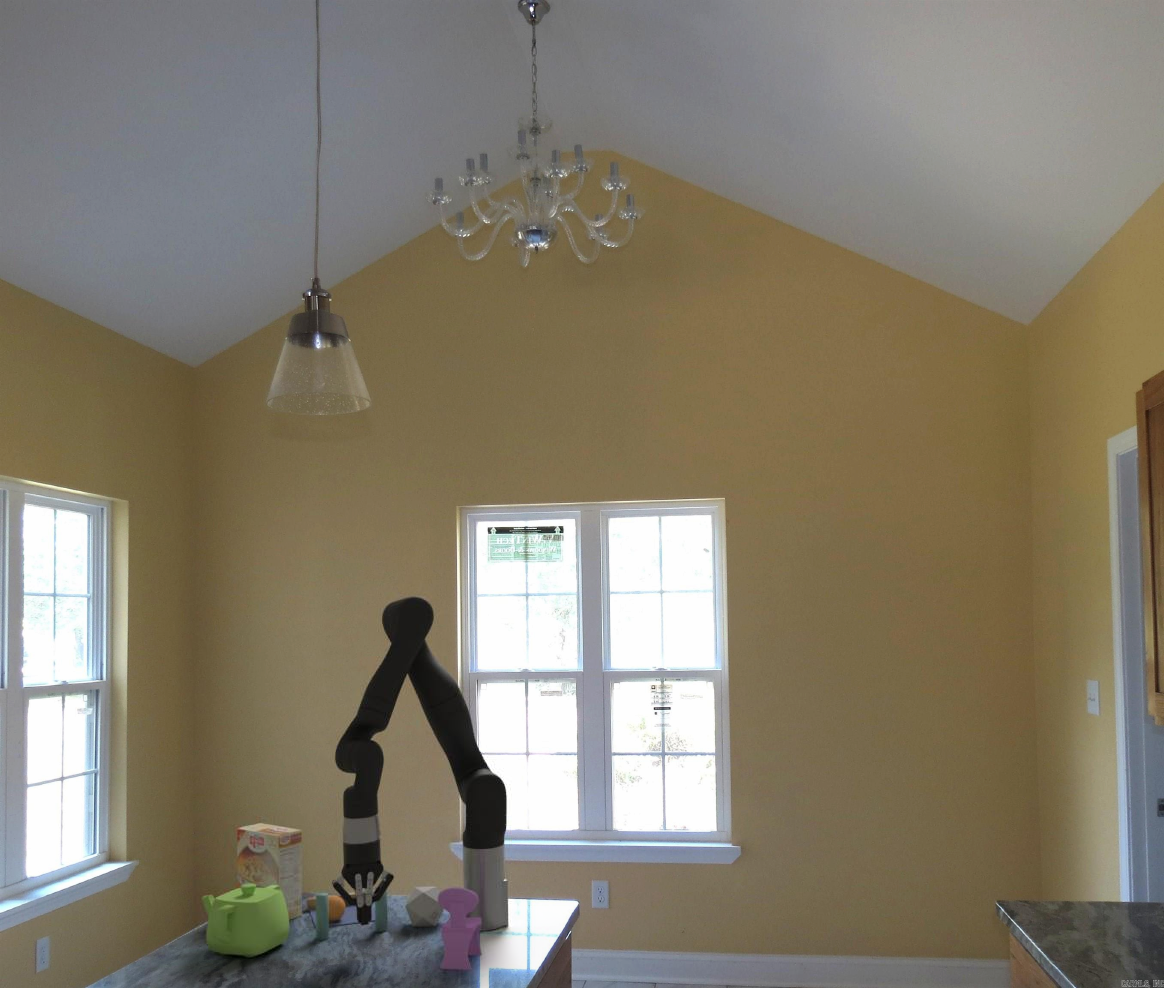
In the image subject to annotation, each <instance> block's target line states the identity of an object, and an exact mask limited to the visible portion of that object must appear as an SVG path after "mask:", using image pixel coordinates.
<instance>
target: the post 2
mask: <svg viewBox="0 0 1164 988" xmlns="http://www.w3.org/2000/svg"><path fill="white" fill-rule="evenodd" d="M377 887H378V886H376V887H374V891H375V890H376V888H377ZM374 904H375V905H374V906H375V907H374V910H375V921H374V924H375V925H374V927H375V928H374V929H375V930H374V931H375V932H376V933H377V932H378V933H381V932H382V933H383V932H387V931H388V888H387V889H386V891H385V893H384V894H383V896H382V897H381V899H380V900H379V901H376V902H374Z"/></svg>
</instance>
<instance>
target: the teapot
mask: <svg viewBox="0 0 1164 988" xmlns="http://www.w3.org/2000/svg"><path fill="white" fill-rule="evenodd" d="M201 900H202V904H203V906H204V909H205V911H206V913H207V917H208V919H207V920H208V921H207V925H206V926H207V927H206V935H205V940H206V944H207V946H208V949H209V950H210V952H214V953H218V954H219V953H220V954H221V955H233V956H235V955H236V956H244V957H245V958H254V957H256V956H258V955H261V954H264V953H266V952H268V951H270V950H272V949H273V948H274V949H275V948H276V947H278V946H280V945H281V944H283V943H284V942H286V941H287V938H288V935H289V933H290V920H289V917H288V911H287V906H286V903H285V899H284V896H283V893H282V891H280V886H279V885H270V886H268V887H266V888H256V884H252V883H251V884H244V885H242V886H241V888H237V887H236V888H235V889H233V890H230V891H228V892H225V893H223V894H221V895H219V896H216V897H214V896H213V894H210V895H209V894H208V895H204V896H202V897H201Z"/></svg>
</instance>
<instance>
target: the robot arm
mask: <svg viewBox="0 0 1164 988" xmlns="http://www.w3.org/2000/svg"><path fill="white" fill-rule="evenodd" d="M381 617H382V618H381V623H382V627H383V630H384V632H385V634H386V636H387V638H388V640H389V641H390V645H389V648H388V649H387V650H388V651H387V652H386V654H385V657H384V658H383V660H382V661H381V663H380V665H379V666H378V668H377V670H375V673H374V675H373V676H371V679H370V681H369V683H368V684H367V686H366V688H365V691H364V693H363V696H362V699H361V702H360V705H359V707H358V708H357V713H356V715H355V717H354V718H353V720H352V721H351V722H350V723H349V725H348V726H347V728H346V730H345V731H344V733H343V735H342V736H341V738H340V740H339V741H338V743H337V746H336V748H335V752H334V753H335V754H334V761H335V765H336V767H337V768H338V769H339V770H340V771H341V772H343V773H346V774H355V778H354V782H353V785H351V786H347V788H345V790H344V791H343V794H342V795H343V797H342V806H343V808H342V809H343V810H342V811H343V815H342V816H343V822H342V823H343V824H342V846H343V847H342V849H343V851H342V852H343V854H342V855H343V866H342V869H341V872H340V873H341V875H339V876H338V877H337V878H336V879H334V880H332V881H331V886H332V887H333V889H334V890H335V891H336V892H337V894H340V895H341V896H342V897H343V898H344V900H345V901H346V902H347V903H348V904H349V905H350V906H352V905H354V906H356V912H357V921H358V922H359V923H358V924H360V926H366V925H367V926H369V924H370V922H372V921H371V919H372V910H371V906H372V907H373V904H375V902H376V901H379V900H380V899H381V897H382V896H383V894H384V893H385V891H386V889H387V890H388V888H389V887H390V885H391V884H392V881H393V880H394V878H395V876H394V874H393V873H392V872H391V871H388V870H386V869H385V868H384V865H383V863H382V858H381V856H382V852H381V834H382V833H381V824H380V818H379V800H378V799H379V797H378V794H379V793H378V792H379V787H380V785H381V779H382V774H383V769H384V765H385V756H384V752H383V748H382V747H381V745H380V744H379V743H378V742H377V741H375V740H373V739H372V738H373V737H374V736H375V735H376V734H379V733H382V732H384V731H385V730H386V729H387V728H388V725H389V724H390V720H391V718H392V715H393V713H394V710H395V706H396V703H397V702H398V698H399V696H400V694H401V693H400V692H401V690H402V688H403V685H404V682H405V681H406V678H407V676H408V678H409V681H410V683H411V684H412V687H413V689H414V691H415V694H416V696H417V698H418V701H419V703H420V706H421V709H422V710H423V713H424V715H425V717H426V720H427V722H428V725H429V726H430V728H431V729H432V732H433V734H434V736H435V738H436V740H437V742H438V744H439V745H440V748H441V749H442V751H443V752H444V754H445V756H446V758H447V761H448V763H449V766H450V769H451V772H452V775H453V778H454V780H455V781H454V782H455V783H456V788H457V791H458V795H459V797H460V799H461V801H462V803H463V804H464V805H465V828H464V831H463V833H462V878H463V879H462V881H463V883H462V885H463V887H462V888H466V889H469V890H471V891H473V892H475V893H476V894H477V895H478V898H479V901H478V904H477V906H476V907H475V908H474V910H473V911H471V912H470V913H468V914H467V915H466V918H472V917H481V922H482V926H481V929H480V931H492V930H493V931H494V930H497V929H500V928H502V927H504V926H509V925H510V924H509V884H508V883H509V882H508V879H506V865H505V864H506V863H505V859H506V858H505V857H506V856H505V834H506V831H507V823H508V822H507V821H508V820H507V818H508V812H507V811H508V808H507V806H508V805H507V803H508V802H507V801H508V799H507V798H508V797H507V796H508V795H507V788H506V784H505V783H504V781H503V779H502V778H501V777H500V776H499V775H498V774H496V773H494V772H493V771H492V770H491V768H490V767H489V765H488V764H487V762H486V760H485V758H484V756H483V754H482V752H481V750H480V748H479V746H478V744H477V741H476V737H475V733H474V727H473V722H472V718H471V713H470V711H469V708H468V705H467V703H466V700H465V698H464V696H463V693H462V692H461V689H460V687H459V685H458V683H457V682H456V680H455V678H454V677H453V676H452V675H451V674H450V673H449V671H448V670H447V669H446V668H445V667H444V666H443V665H442V664H441V663H440V662H439V661H438V660H437V658H436V657H435V656H434V655H433V653H432V651H431V650H430V647H429V645H428V643H427V640H426V638H427V636H428V635H429V632H430V631H431V628H432V626H433V623H434V621H435V618H434V617H435V613H434V609H433V606H432V604H431V603H430V602H429V601H428V600H427V599H426V598H424V597H422V596H417V595H415V596H408V597H404V598H401V599H397V600H393V601H392V602H390V603H389V604H388V603H387V605H386V606H385V608H384V609H383V612H382V614H381ZM379 879H380V882H379V884H378V885H377V886H376V887H377V888H376V890H375V889H374V886H375V885H376V883H378V881H379ZM345 882H346V883H347V884H348V885H349V886H350V888H352V889H353V892H354V893H355V898H354V897H351V896H350V895H349V893H350V892H348V891H347V890H346V889H345V886H346V883H345ZM362 891H364V904H363V892H362ZM373 891H374V892H373ZM369 921H370V922H369Z"/></svg>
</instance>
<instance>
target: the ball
mask: <svg viewBox="0 0 1164 988" xmlns="http://www.w3.org/2000/svg"><path fill="white" fill-rule="evenodd" d="M344 913H345V903H344V901H343V899H342V898H340V897H338V896H329V922H335V921H337V920H339V919H340V918H341V917H342V916H343V915H344Z"/></svg>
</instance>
